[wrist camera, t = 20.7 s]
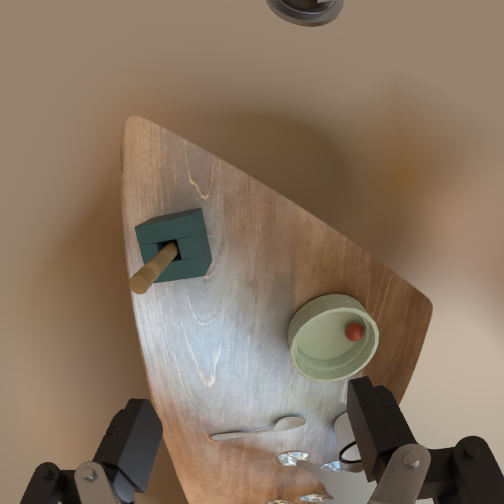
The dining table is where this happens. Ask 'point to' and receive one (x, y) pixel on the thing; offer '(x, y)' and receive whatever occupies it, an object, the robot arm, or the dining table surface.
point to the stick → (154, 268)
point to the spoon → (279, 426)
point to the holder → (189, 241)
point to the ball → (354, 331)
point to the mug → (346, 441)
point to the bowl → (330, 338)
